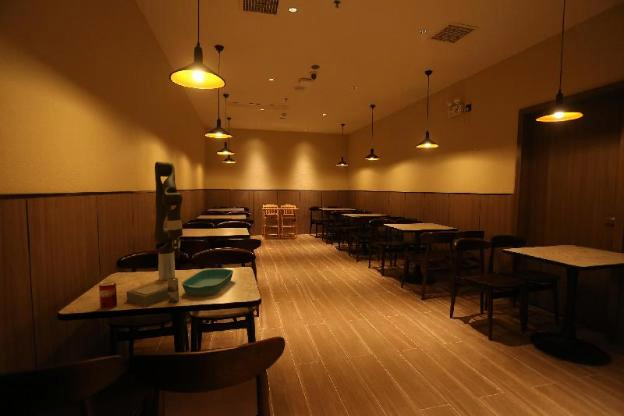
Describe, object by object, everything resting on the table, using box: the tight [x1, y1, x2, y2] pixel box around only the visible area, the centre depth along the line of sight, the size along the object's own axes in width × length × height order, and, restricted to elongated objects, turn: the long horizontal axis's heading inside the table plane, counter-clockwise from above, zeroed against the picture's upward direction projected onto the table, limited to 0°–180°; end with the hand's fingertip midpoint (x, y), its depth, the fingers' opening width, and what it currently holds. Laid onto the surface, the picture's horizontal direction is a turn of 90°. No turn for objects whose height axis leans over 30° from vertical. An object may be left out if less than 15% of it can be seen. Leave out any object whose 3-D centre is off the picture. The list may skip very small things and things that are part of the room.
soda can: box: [98, 280, 118, 310], centre depth 158 cm, size 7×7×12 cm
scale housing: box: [125, 283, 168, 307], centre depth 169 cm, size 16×16×5 cm
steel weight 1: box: [167, 277, 180, 292], centre depth 163 cm, size 5×5×6 cm
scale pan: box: [132, 284, 167, 295], centre depth 168 cm, size 12×12×2 cm
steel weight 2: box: [167, 290, 180, 304], centre depth 164 cm, size 5×5×6 cm
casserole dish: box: [181, 267, 234, 297], centre depth 186 cm, size 37×22×7 cm, turn 175°
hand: (177, 256), depth 179 cm, fingers open, 8 cm apart
